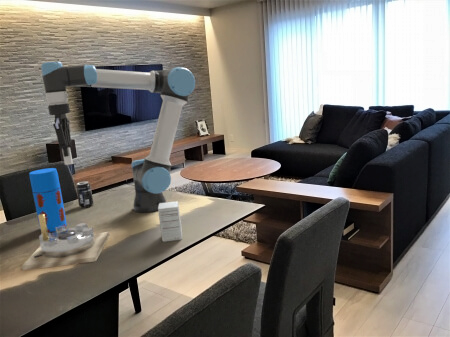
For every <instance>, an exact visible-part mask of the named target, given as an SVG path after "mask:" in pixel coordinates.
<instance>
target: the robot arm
mask: <svg viewBox="0 0 450 337" xmlns="http://www.w3.org/2000/svg"><path fill="white" fill-rule="evenodd" d="M40 67H41V74H42V75H41V77H42V82H43V86H44V92H45V99H46V103H47V104H48V106H47V109H48V113H49V115H50V116H54V123H53V128H54V131H55V135H56V138H57V142H58V145H59V146H58V147H59V149H60V150H61V152H62V156H63V163H64V165H65V166H67V165H72V164H74V163H73V157H72V150H71V148H72V147H73V144H72V140H71V139H72V138H71V130H70V122H71V121H70V120H69V118H68V117H67V114H69V113H70V112H71V109H70V108H71V107H70V104H69V98H68V97H69V93H67V87H68V88H71V87H78V88H79V87H84V88H85V87H87V88H91V87H92V88H105V89H107V88H108V89H124V90H125V89H127V90H142V91H143V90H145V91H149V92H150V93H152V94H153V93H155V94H160V97H161V99H162V103H161V107H160V111H159V115H158V119H157V124H156V128H155V131H154V135H153V139H152V142H151V147H150V151H149V154H148V156H146V157H145V158H143V159H136V160H133V161H131V171H132V179H133V184H134V190H135V191H134V192H135V195H134V198H133V199H134V201H133V211H135V212H137V213H151V212H152V213H153V212H158V206H159V203H167V199H166V197H165V194H163V193H164V192H165V191H166V190H167V189H168V188H169V187H170V186H171V182H172V176H171V173H170V172H171V168H172V163H171V161H170V157H171V154H172V150H173V146H174V142H175V141H174V140H175V138H176V133H177V131H178V125H179V123H180V122H179V121H180V118H181V114H182V111H183V106H184V105H186V104H188V101H189V97H190V95H191V93H192V92H193V91H194V90H195V88H196V78H195V76H194V74H193V73H192V72H191V70H189V69H188V68H186V67H180V66H176V67H172V68H169V69H162V70H151V71H149V72H146V71H145V72H144V71H143V72H142V71H134V70H133V71H131V70H130V71H129V70H115V69H114V70H113V69H103V68H102V69H101V68H96V66H95V65H94V64H83V65H71V66H64V65H63V63H62V62H61V61H47V62H46V61H45V62H42V64H40Z"/></svg>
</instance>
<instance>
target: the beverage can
mask: <svg viewBox="0 0 450 337" xmlns="http://www.w3.org/2000/svg"><path fill="white" fill-rule="evenodd" d="M75 190H76V196H77V200H78V205H79V207H80V208H84V209H85V208H90V207H92V206H93V204H94V200H93V199H94V198H93V194H92V193H93V192H92V185H91V183H89V181H88V180H87V181H80V182H77V183H76V186H75Z"/></svg>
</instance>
